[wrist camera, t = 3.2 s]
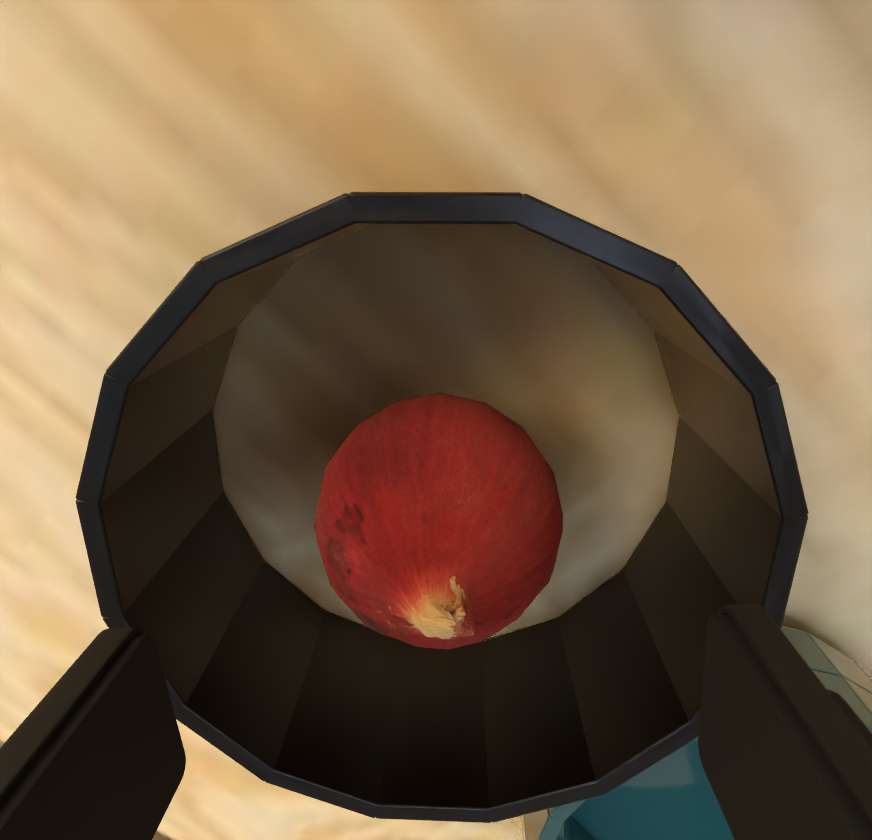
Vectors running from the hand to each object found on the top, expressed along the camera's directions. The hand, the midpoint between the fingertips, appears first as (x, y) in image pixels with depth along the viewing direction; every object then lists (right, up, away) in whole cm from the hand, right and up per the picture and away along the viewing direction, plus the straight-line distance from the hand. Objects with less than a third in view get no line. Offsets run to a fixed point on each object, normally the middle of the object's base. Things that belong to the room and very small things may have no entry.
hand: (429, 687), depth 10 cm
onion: (0, +4, +8) cm, 9 cm away
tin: (0, +3, +8) cm, 9 cm away
